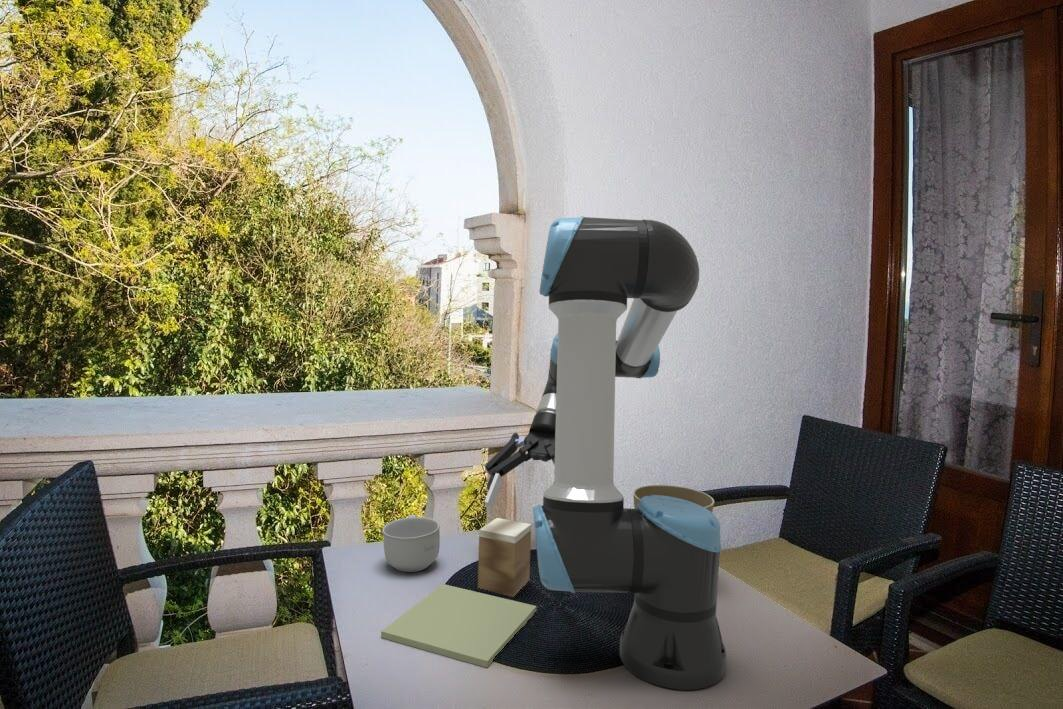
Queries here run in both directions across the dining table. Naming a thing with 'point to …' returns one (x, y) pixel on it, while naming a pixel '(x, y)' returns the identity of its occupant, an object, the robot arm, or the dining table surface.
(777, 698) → the dining table surface
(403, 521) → the teacup
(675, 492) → the plant pot
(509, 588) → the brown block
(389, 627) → the olive mat
